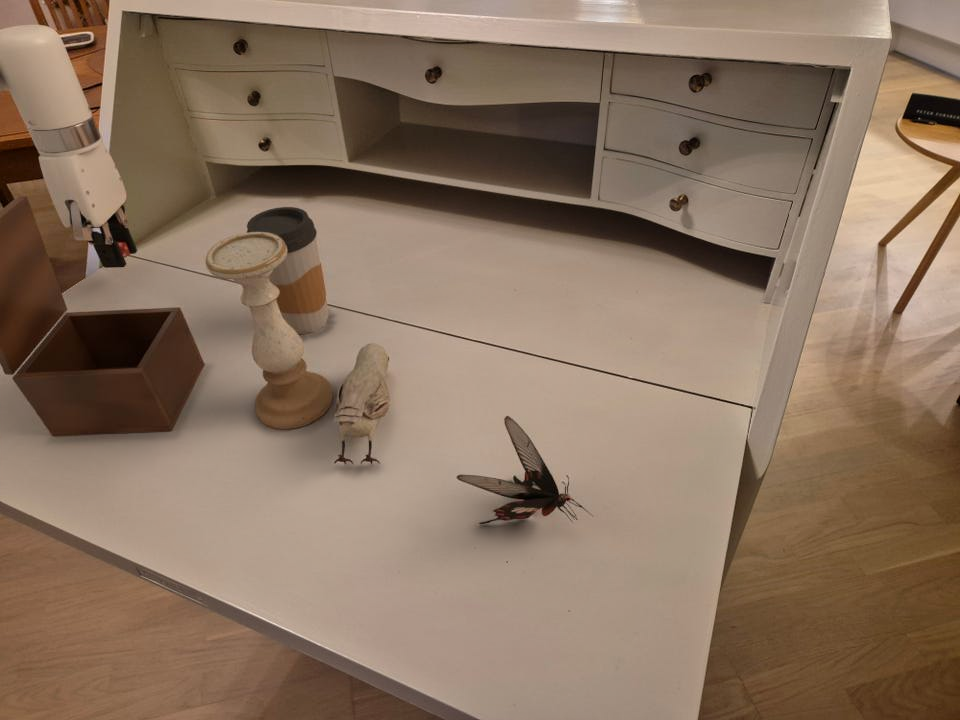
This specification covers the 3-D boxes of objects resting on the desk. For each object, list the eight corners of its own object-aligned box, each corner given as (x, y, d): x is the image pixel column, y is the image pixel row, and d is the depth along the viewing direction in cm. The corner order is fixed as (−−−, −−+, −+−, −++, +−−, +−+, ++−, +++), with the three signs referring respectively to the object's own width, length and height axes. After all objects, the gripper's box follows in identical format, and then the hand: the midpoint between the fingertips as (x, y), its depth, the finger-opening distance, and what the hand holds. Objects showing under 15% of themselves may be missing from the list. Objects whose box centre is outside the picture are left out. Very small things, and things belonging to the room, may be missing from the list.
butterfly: (494, 548, 62) (430, 472, 61) (551, 488, 65) (492, 414, 63) (543, 576, 52) (469, 487, 50) (609, 505, 55) (541, 417, 53)
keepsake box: (204, 364, 80) (180, 307, 74) (171, 431, 71) (140, 372, 65) (98, 368, 80) (65, 312, 75) (52, 436, 71) (11, 378, 66)
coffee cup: (304, 297, 90) (277, 199, 81) (349, 313, 87) (327, 213, 77) (261, 329, 85) (227, 228, 75) (307, 347, 82) (278, 244, 72)
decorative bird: (402, 370, 77) (394, 321, 72) (382, 474, 65) (371, 422, 60) (358, 371, 77) (347, 321, 73) (330, 474, 65) (315, 423, 60)
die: (111, 267, 91) (102, 248, 90) (109, 258, 94) (101, 239, 92) (133, 262, 92) (125, 243, 91) (130, 253, 95) (123, 234, 93)
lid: (27, 196, 65) (18, 195, 65) (-43, 254, 56) (-53, 253, 56) (67, 309, 74) (60, 308, 74) (13, 375, 66) (4, 374, 65)
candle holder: (320, 432, 70) (272, 276, 57) (244, 428, 71) (180, 274, 58) (342, 378, 76) (304, 228, 63) (273, 376, 78) (221, 227, 64)
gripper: (68, 113, 88) (119, 233, 99) (0, 160, 75) (68, 291, 87) (122, 112, 88) (167, 232, 99) (63, 159, 75) (122, 290, 87)
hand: (120, 258), depth 93 cm, fingers closed on die, 3 cm apart
